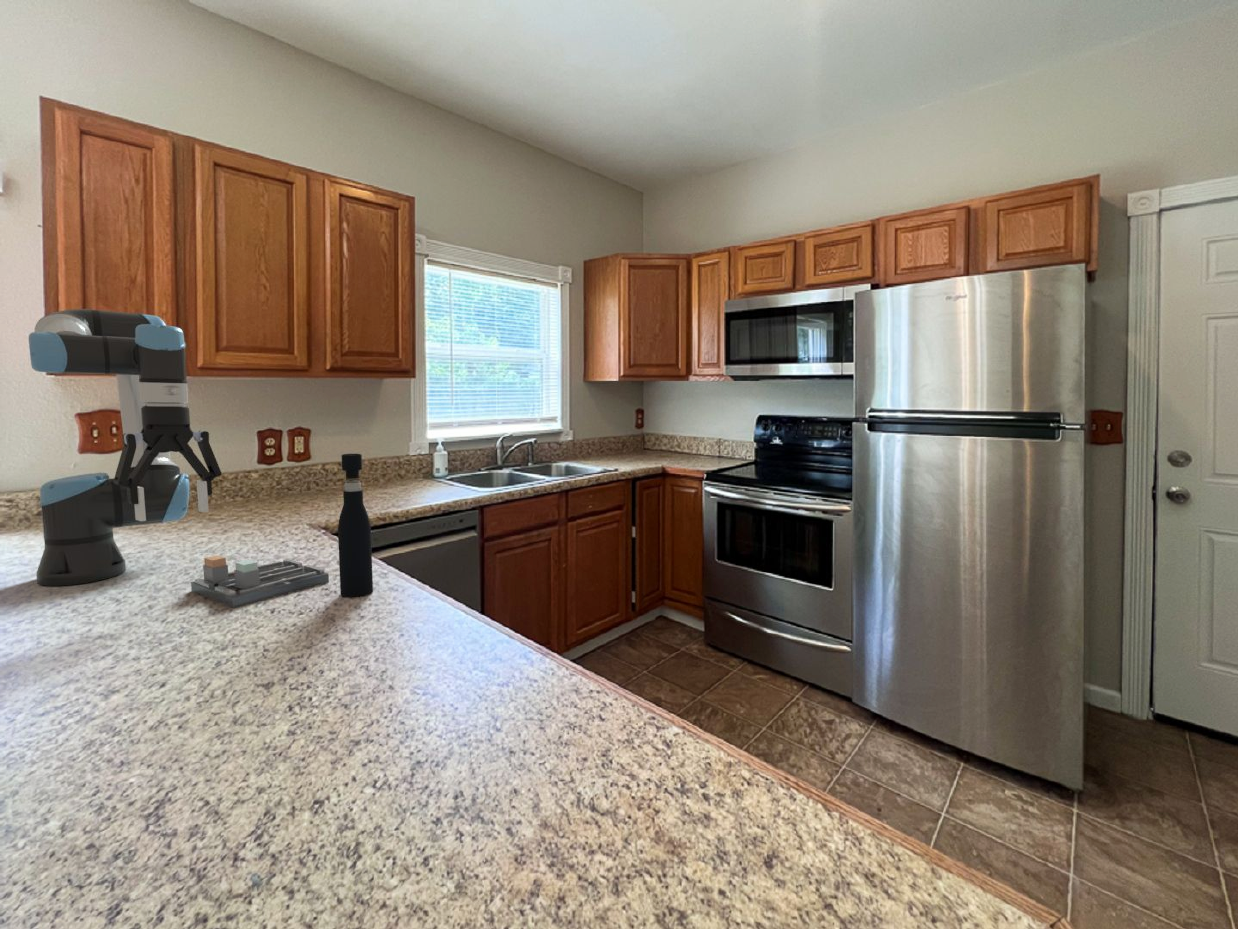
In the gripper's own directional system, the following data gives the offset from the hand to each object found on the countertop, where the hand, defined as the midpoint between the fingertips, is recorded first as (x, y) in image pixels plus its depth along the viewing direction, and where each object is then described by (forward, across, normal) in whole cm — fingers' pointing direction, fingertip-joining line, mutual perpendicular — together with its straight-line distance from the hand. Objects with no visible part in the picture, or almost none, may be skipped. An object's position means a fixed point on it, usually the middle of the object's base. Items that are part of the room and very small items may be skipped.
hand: (173, 515), depth 118 cm
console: (+18, +14, -5) cm, 23 cm away
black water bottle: (+18, +23, -26) cm, 39 cm away
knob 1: (+15, +7, 0) cm, 17 cm away
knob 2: (+15, +9, -9) cm, 20 cm away
